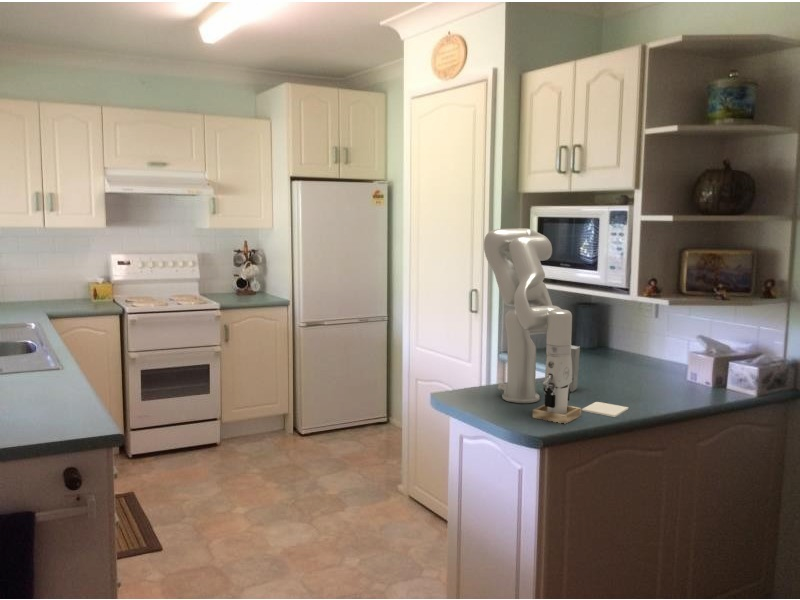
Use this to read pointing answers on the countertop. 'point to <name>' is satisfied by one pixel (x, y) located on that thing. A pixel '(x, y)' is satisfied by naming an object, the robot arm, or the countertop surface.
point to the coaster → (605, 409)
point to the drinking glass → (560, 401)
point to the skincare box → (574, 366)
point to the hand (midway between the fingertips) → (557, 403)
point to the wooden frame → (545, 415)
